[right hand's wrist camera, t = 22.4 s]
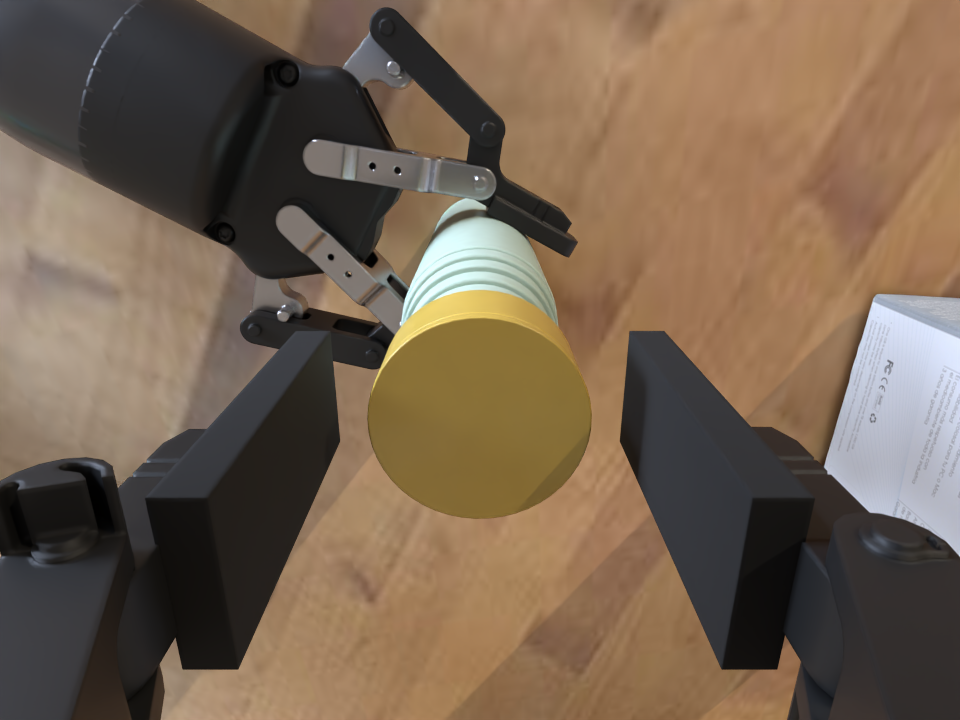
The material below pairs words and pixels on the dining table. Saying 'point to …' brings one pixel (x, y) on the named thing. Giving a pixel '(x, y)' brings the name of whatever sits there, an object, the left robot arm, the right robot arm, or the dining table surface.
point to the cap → (479, 406)
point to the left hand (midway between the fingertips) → (536, 301)
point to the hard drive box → (904, 415)
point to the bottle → (478, 261)
